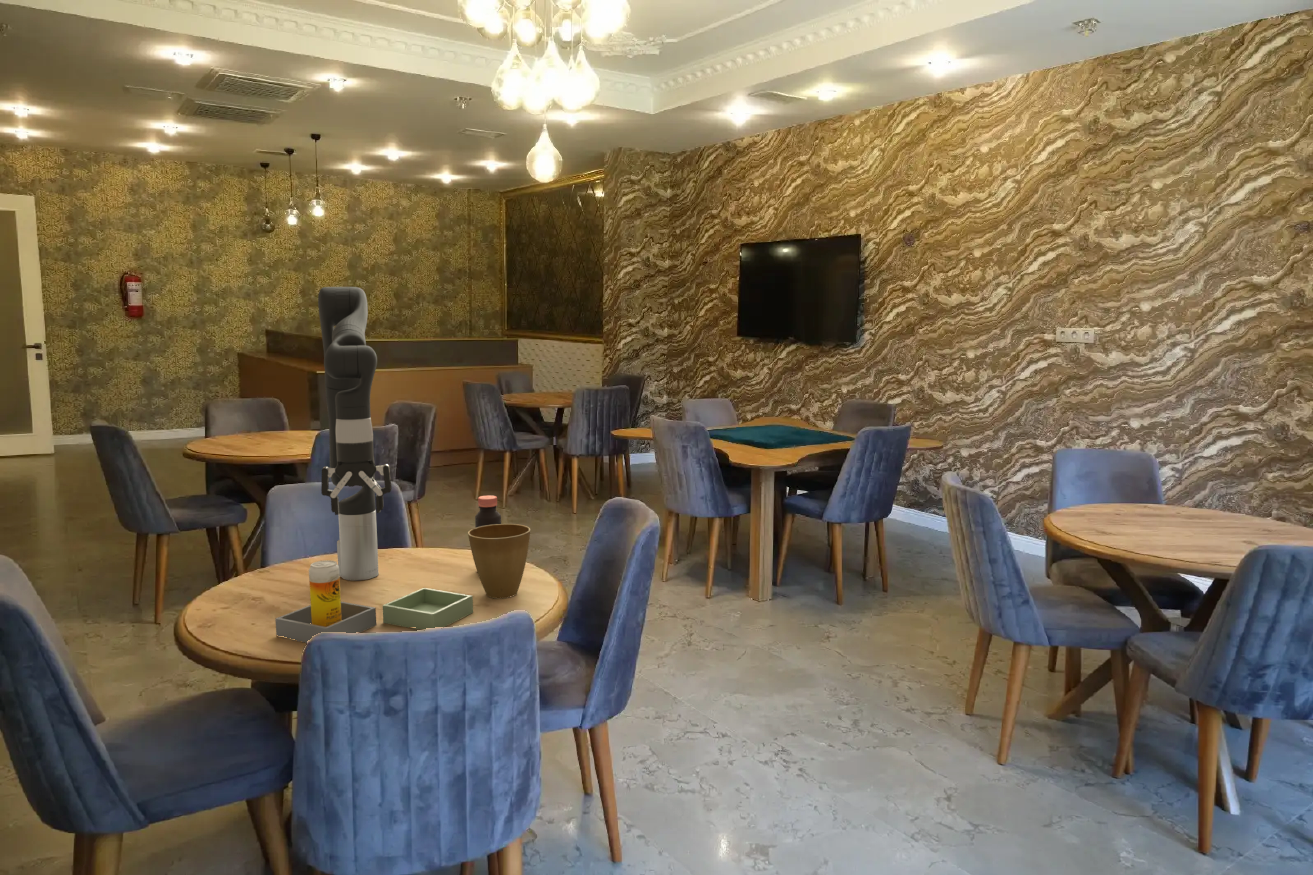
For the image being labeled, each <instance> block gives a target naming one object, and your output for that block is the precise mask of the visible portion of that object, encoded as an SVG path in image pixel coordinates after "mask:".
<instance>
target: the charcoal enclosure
mask: <svg viewBox="0 0 1313 875" xmlns="http://www.w3.org/2000/svg"><path fill="white" fill-rule="evenodd" d="M341 616H342V621H340V622H337V623H335V624H332V625H330V626H328V627H323V626H318V625H313V624H310V623H312V618H311V604H310V605H307V606H304V607H301V608H299V609H296V610H294V611H291V612H289V613H286V614H284V615H281V616H278V617H276V618H275V635H278V636H284V637H287V638H291V639H295V640H297V641H296V642H300V641H302V642H301V643H304V642H305V644H308V643H307V641H308V640H310V639H311V638H312V636H314V635H316V634H318V633H321V632H346V633H356V632H360V633H362V632H365V631H367V630H368V629H371V628H374V627H375V626H377V608H376V607H374V606H368V605H363V604H362V605H361V604H358V603H352V602H346V601H341ZM364 630H365V631H364ZM295 640H294V641H295Z"/></svg>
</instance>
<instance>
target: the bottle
mask: <svg viewBox="0 0 1313 875" xmlns="http://www.w3.org/2000/svg"><path fill="white" fill-rule="evenodd" d="M477 504H478V508H479V511H478V512H477V513H476V515H475V517H474V523H475V524H474V525H475V528H477V527H481V526H486V525H494V524H502V515H501V513H500V512H499V511H498V510H497V507H498V497H497V496H496V495H490V494H489V495H480V496H479V497H477Z"/></svg>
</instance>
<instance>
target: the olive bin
mask: <svg viewBox="0 0 1313 875" xmlns="http://www.w3.org/2000/svg"><path fill="white" fill-rule="evenodd" d="M473 601H474V600H473V595H472V594H471V595H470V594H466V593H465V594H464V593H459V592H454V591H453V592H451V591H446V590H439V589H434V588H427V587H423V588H420V589H418V590H415V591H413V592H410V593H408V594H407V595H403V596H401V597H399V598H396V599H393V600H392V601H390V602H387V603H385V604H382V623H383V624H389V625H392V626H393V625H394V626H398V627H404V628H409V627H416V628H413V629H414V630H419V629H426V628H435V627H443V628H445V627H447V626H450V625H452V624H453V623H455V622H457V621H459V620H461V619H463V618H465V617H466V616H469V615H471V614H473V613H474V602H473Z"/></svg>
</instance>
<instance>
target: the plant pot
mask: <svg viewBox="0 0 1313 875" xmlns="http://www.w3.org/2000/svg"><path fill="white" fill-rule="evenodd" d="M467 536H468V540H469V545H470V550H471V554H472V559H473V563H474V566H475V570H476V571H477V574H478V577H479V580H480V584H481V585H482V587H483V591H484V593H485V594H486V596H487V597H489V598H490V599H491V598H492V599H506V598H507V597H508V598H511V597H510V596H512V597H514V596H516V595H517V594H518V591H519V588H520V585H521V582H522V579H523V575H524V571H525V568H526V562H527V557H528V554H529V553H528V551H529V547H530V546H529V545H530V540H531V539H530V538H531V528H530V527H529V526H527V525H523V524H517V523H501V524H494V525H486V526H481V527H477V528H471V529H470V530H469V531H467ZM513 595H514V596H513Z"/></svg>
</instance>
